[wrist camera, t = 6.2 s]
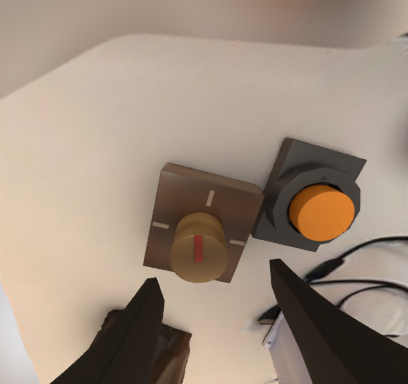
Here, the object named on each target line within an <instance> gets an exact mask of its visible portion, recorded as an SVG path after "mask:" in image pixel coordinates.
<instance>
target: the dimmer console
mask: <svg viewBox="0 0 408 384" xmlns="http://www.w3.org/2000/svg"><path fill="white" fill-rule="evenodd" d="M264 197H265V195H264V194H263V193H262V192H261V190H260V189H259V188H258V187H257V186H256V185H254V184H250V183H246V182H242V181H239V180H235V179H231V178H227V177H223V176H219V175H215V174H211V173H207V172H203V171H200V170H196V169H192V168H188V167H184V166H180V165H176V164H172V163H167V164H166V165H165V166H164V167H163V168H162V170H161V174H160V179H159V184H158V189H157V195H156V200H155V205H154V210H153V215H152V221H151V226H150V231H149V236H148V242H147V247H146V252H145V257H144V262H143V266H147V267H152V268H157V269H162V270H167V271H172V272H174V271H173V269H172V267H171V265H170V261H169V256H170V251H171V247H172V243H173V239H174V235H175V231H176V227H177V225H178V223H179V222H180V220H181V219H182V218H184V217H185V216H187V215H189V214H191V213H196V212H204V213H208V214H210V215H213V216H214V217H216V218H217V219H218V220H219V221H220V223H221V224H222V227H223V230H224V235H225V241H226V246H227V251H228V257H229V260H228V265H227V267H226V269H225V271H224V272H223V273H222V274H221V275H220V276H219V277H218V278H216V279H214V280H216V281H221V282H226V283H230V282H231V279H232V277H233V274H234V272H235V269H236V267H237V264H238V262H239V259H240V257H241V254H242V252H243V249H244V247H245V244H246V242H247V239H248V237H249V235H250V232H251V230H252V227H253V225H254V222H255V220H256V217H257V215H258V212H259V210H260V207H261V205H262V202H263V200H264Z"/></svg>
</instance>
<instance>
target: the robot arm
mask: <svg viewBox="0 0 408 384" xmlns="http://www.w3.org/2000/svg"><path fill="white" fill-rule="evenodd" d="M269 262H270V273H271V285H272V288H273V291H274V294H275V297H276V300H277V302H278V305H279V307H280V309H281V312H280V314H279V315H278V317H277V319H276V321H275V323H274V324H273V326H272V328H271V330H270V332H269V333H268V335H267V337H266V339H265V341H264V342H263V348H264V349H267V350H270V354H271V357H272V360H273V364H274V367H275V371H276V374H277V378H278V381H279V384H408V348H406V347H404V346H402V345H400V344H398V343H396V342H394V341H392V340H391V339H389V338H387V337H385V336H383V335H382V334H380V333H378V332H376V331H374V330H373V329H371V328H369V327H368V326H366V325H364V324H363V323H361V322H359V321H358V320H356V319H354V318H353V317H351V316H350V315H348V314H347V313H345V311H344V310H343V309H341V308H338V307H336V306H335V305H333V304H332V303H331V302H329V301H328V300H327V299H325V298H324V297H323V296H321V295H320V294H319V293H317V292H316V291H315V290H314V289H313V288H311V287H310V286H309V285H308V284H307V283H305V282H304V281H303V280H302V279H301V278H300V277H299V276H297V275H296V274H295V273H294V272H293V271H292V270H291V269H290V268H289V267H288V266H287V265H286V264H285V263H284V262H283V261H282V260H281V259H273V260H269ZM163 311H164V298H163V295H162V292H161V289H160V286H159V283H158V281H157V278H156V277H155V278H148V279H147V280H146V281H145V282H144V284H143V285H142V286H141V288H140V289H139V290H138V292H137V293H136V294H135V296H134V297H133V298H132V300H131V301H130V302H129V304H128V305H127V306H126V308H125V309H124V310H123V311H122V313H121V314H120V315H119V316H118V317H117V319H116V320H115V321H114V322H113V323H112V325H111V326H110V327H109V328H108V329H107V330H106V331H105V333H104V334H103V335H102V336H101V337H100V338H99V339H98V340H97V341H96V342H95V343H94V344H93V345H92V346H91V347H90V348H89V349H88V350H87V351H86V352H85V353H84V354H83V355H82V356H81V357H80V358H79V359H78V360H76V361H75V362H74V363H73V364H72V365H71V366H70V367H69V368H68V369H67V370H65V371H64V372H63V373H62V374H61V375H60V376H58V377H57V378H56V379H55V380H54V381H53V382H51V383H50V384H149V380H150V374H151V368H152V363H153V358H154V354H155V350H156V345H157V341H158V337H159V332H160V328H161V323H162V319H163Z"/></svg>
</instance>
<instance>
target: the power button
mask: <svg viewBox="0 0 408 384" xmlns="http://www.w3.org/2000/svg"><path fill="white" fill-rule="evenodd" d="M354 212H355V210H354V205H353V202H352V201H351V199H350V198H349V197H348V196H347V195H345V194H343V193H341V192H339V191H337V190H335V189H333V188H331V187H330V186H327V185H312V186H309V187H307V188H305V189H303V190H301V191H300V192H299V193H298V194H297V195H296V196H295V197H294V198H293V200H292V202H291V204H290V207H289V217H290V220H291V222H292V223H293V224H294V225H295V227H296V228H297V229H298V230H299V231H300V232H301V233H302V234H303V235H304V236H305V237H306V238H308V239H310V240H314V241H326V240H330V239H333V238H335V237H337V236H339V235H341V234H342V233H343V232H344V231H345V230H346V229H347V228H348V227H349V226H350V224H351V222H352V220H353V218H354Z"/></svg>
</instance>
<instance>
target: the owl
mask: <svg viewBox="0 0 408 384" xmlns="http://www.w3.org/2000/svg"><path fill="white" fill-rule="evenodd" d="M122 311H123V310H113V311H110V312H109V313H108V314H107V317H106V318H105V319H104V323H103V325H102V326H101V327H102V329H101V330H100V331H98V333H97V335H96V337H95V338H94V340H93V342H92V344H91V345H90V347H91V346H92V345H93V344H94V343H95V342H96V341H97V340H98V339H99V338H100V337H101V336H102V335H103V334H104V333H105V331H106V330H107V329H108V328H109V327H110V326H111V325H112V323H113V322H114V321H115V320H116V319H117V317H118V316H119V315H120V314H121V313H122ZM191 336H192V334H190V333H186V332H183V331H180V330H177V329H174V328H172V327H170V326H167V325H164V324H161V328H160V332H159V337H158V341H157V345H156V350H155V354H154V358H153V363H152V368H151V374H150V380H149V384H182V383H183V379H184V375H185V368H186V364H187V361H188V357H189V354H190V347H189V341H190V338H191ZM90 347H89V348H90Z"/></svg>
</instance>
